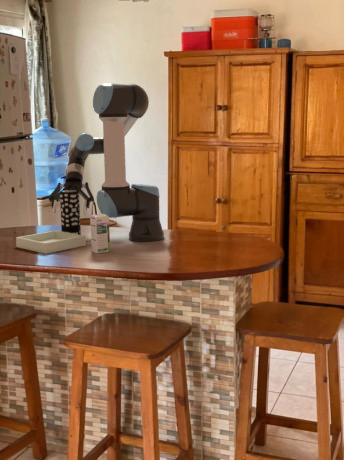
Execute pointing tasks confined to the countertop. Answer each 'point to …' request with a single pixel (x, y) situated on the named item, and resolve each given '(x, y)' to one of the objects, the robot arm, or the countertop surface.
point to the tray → (50, 241)
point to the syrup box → (100, 233)
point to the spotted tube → (70, 211)
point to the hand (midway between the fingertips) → (69, 213)
